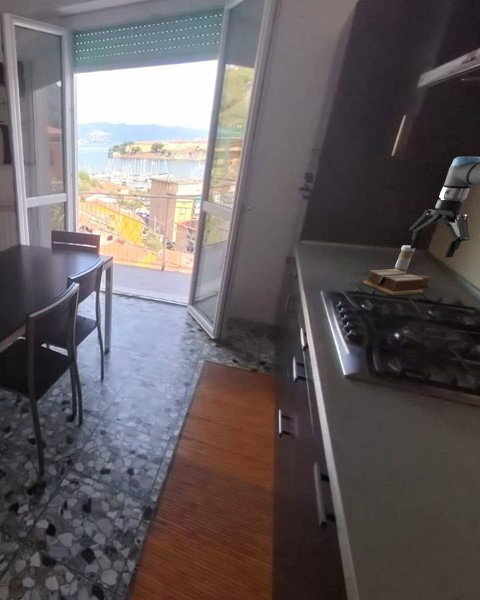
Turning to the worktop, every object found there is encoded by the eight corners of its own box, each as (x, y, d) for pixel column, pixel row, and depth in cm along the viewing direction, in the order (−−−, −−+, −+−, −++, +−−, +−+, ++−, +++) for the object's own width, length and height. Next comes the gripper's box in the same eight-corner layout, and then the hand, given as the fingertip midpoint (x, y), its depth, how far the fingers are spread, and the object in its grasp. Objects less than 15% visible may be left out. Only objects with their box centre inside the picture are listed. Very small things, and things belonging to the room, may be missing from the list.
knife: (420, 284, 153) (425, 275, 151) (426, 286, 151) (430, 277, 149) (376, 281, 149) (380, 272, 147) (381, 283, 147) (386, 274, 145)
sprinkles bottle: (395, 272, 168) (406, 244, 162) (406, 275, 164) (418, 246, 159) (390, 273, 166) (400, 245, 161) (401, 276, 162) (412, 248, 157)
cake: (422, 293, 144) (428, 279, 142) (392, 295, 142) (398, 281, 140) (390, 281, 157) (395, 268, 155) (362, 282, 155) (367, 269, 153)
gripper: (410, 195, 148) (393, 245, 157) (481, 204, 126) (456, 261, 134) (426, 195, 149) (407, 244, 158) (498, 203, 127) (473, 260, 135)
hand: (430, 252), depth 146 cm, fingers open, 13 cm apart
